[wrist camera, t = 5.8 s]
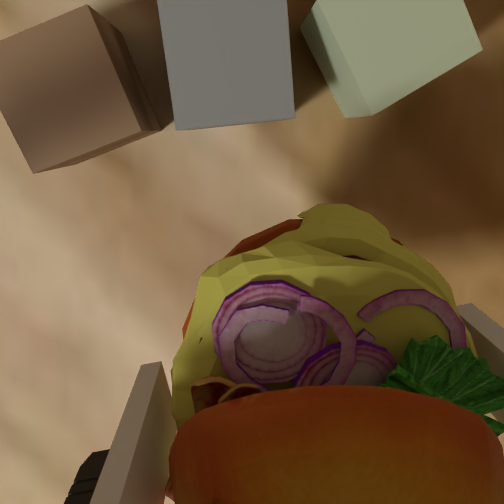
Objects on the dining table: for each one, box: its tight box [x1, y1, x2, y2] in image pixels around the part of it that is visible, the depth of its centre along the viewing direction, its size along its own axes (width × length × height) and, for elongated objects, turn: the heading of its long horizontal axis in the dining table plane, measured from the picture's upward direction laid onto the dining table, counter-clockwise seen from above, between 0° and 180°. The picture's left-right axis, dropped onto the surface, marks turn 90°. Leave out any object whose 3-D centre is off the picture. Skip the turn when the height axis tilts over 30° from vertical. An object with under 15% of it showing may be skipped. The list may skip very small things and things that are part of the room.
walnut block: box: [0, 4, 162, 174], centre depth 20 cm, size 5×5×5 cm
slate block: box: [157, 0, 295, 130], centre depth 20 cm, size 5×5×5 cm
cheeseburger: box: [165, 204, 504, 504], centre depth 13 cm, size 10×11×10 cm
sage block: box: [300, 0, 483, 118], centre depth 19 cm, size 5×5×5 cm
